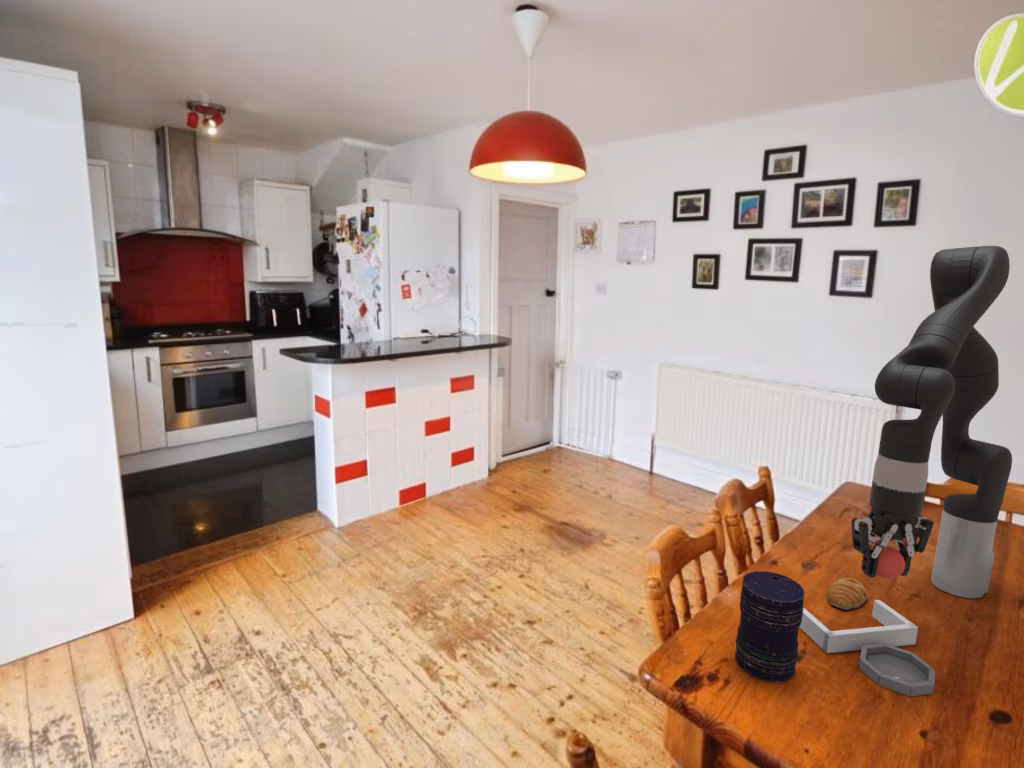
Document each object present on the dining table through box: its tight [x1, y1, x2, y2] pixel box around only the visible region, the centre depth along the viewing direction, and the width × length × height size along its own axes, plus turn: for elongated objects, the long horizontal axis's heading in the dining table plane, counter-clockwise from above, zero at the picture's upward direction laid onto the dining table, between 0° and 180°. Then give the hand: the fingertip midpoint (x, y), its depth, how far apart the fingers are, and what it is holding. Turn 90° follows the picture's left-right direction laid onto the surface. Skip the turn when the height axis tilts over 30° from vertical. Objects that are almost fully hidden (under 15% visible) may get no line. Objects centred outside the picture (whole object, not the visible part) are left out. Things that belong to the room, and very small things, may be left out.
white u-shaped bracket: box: [799, 599, 919, 654], centre depth 108 cm, size 18×9×4 cm, turn 99°
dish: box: [858, 643, 936, 697], centre depth 98 cm, size 10×10×2 cm
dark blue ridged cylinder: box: [734, 570, 805, 684], centre depth 99 cm, size 10×10×15 cm
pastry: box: [827, 577, 869, 611], centre depth 119 cm, size 9×7×4 cm
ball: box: [876, 545, 905, 580], centre depth 99 cm, size 6×6×6 cm
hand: (884, 574), depth 99 cm, fingers closed on ball, 5 cm apart
